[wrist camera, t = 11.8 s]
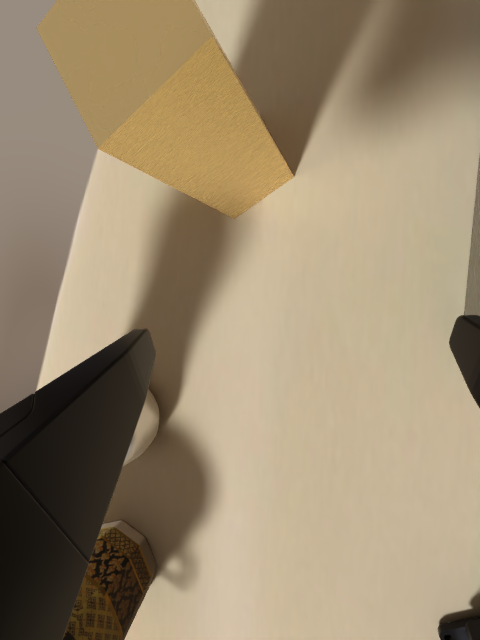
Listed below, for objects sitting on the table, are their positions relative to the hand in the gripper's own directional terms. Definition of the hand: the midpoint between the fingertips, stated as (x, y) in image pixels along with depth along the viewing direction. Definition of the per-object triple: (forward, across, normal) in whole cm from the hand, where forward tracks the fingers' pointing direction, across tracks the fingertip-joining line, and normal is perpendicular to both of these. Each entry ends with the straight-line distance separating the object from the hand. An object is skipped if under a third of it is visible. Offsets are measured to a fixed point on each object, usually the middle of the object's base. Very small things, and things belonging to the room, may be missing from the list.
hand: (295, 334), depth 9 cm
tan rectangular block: (+15, +2, -3) cm, 15 cm away
